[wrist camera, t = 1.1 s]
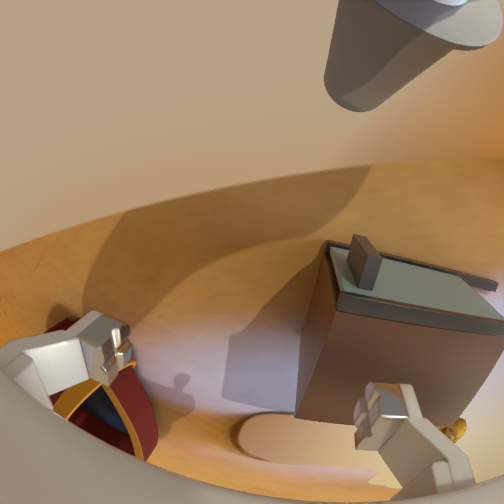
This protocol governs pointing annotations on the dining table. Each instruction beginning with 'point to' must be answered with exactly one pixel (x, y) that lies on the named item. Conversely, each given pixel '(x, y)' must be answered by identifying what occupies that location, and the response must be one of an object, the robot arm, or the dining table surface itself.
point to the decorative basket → (110, 409)
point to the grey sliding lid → (404, 281)
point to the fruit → (454, 430)
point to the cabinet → (391, 349)
